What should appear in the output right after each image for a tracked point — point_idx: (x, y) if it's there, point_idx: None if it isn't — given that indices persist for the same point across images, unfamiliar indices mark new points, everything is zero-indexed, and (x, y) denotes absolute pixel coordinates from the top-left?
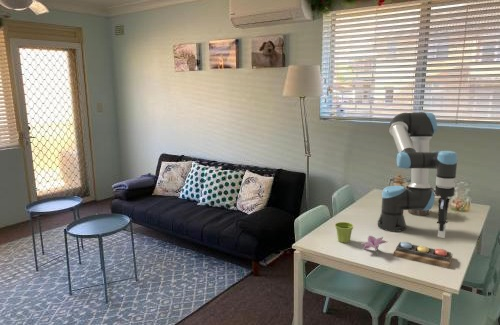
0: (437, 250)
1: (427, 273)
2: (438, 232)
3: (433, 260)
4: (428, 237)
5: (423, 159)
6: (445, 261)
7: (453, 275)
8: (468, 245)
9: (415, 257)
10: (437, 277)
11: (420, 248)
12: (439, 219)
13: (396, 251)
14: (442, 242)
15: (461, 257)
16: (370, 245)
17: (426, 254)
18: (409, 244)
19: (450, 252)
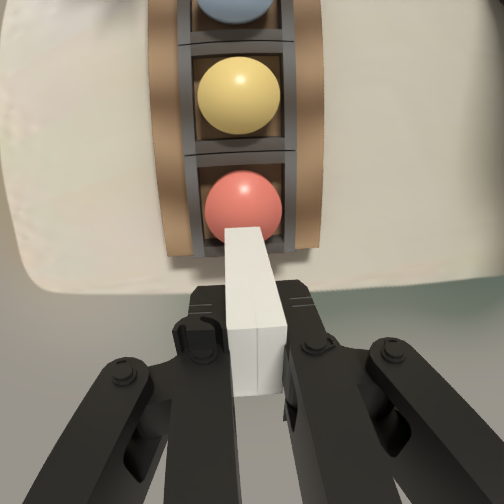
0: (239, 190)
1: (55, 178)
2: (225, 255)
3: (158, 177)
4: (495, 110)
5: None
6: (187, 234)
7: (113, 273)
8: (465, 270)
9: (149, 76)
10: (51, 224)
11: (222, 79)
12: (77, 436)
13: None
14: (470, 172)
15: (337, 270)
16: None
17: (182, 130)
18: (240, 3)
19: (291, 249)
